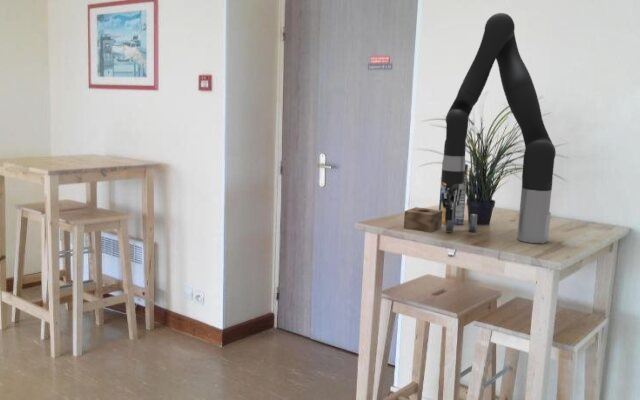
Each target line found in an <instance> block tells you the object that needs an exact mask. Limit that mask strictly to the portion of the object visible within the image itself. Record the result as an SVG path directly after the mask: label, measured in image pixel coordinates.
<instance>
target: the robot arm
mask: <svg viewBox="0 0 640 400" xmlns="http://www.w3.org/2000/svg"><path fill="white" fill-rule="evenodd" d="M515 30H516V29H515V22H514V20H513V18H512V16H511V15H509V14H508V13H504V12H500V13H498V12H497V13H495V14H492V15H491V16H490V17H489V18H488V19H487V21H486V22H485V26H484V31H483V35H482V38H481V42H480V45H479V46H478V47H479V48H478V50H477V52H476V54H475V56H474V59H473V61H472V63H471V65H470V67H469V68H468V71H467V73H466V74H465V77H464V79H463V81H462V83H461V85H460V87H459V89H458V91H457V95H456V97H455V99H454V101H453V103H452V104H451V106H450V107H449V110H448V111H447V114H446V116H445V123H446V124H445V125H446V127H445V128H446V129H445V134H446V135H445V141H444V146H443V147H444V148H443V158H442V161H443V163H441V164H442V165H441V175H442V179H441V178H440V182H441V181H442V182H443V183H446V188H445V191H444V193H443V192H442V202H443V208H445V209H446V214H445V219H446V220H452V214H453V203H455V208H454V219H455V212H456V208H457V206H458V205H459V201H460V197H461V192H462V189H459V184H463V183H464V176H465V164H466V149H467V142H466V140H467V135H468V129H469V116H470V115H471V113H472V110H473V107H474V106H475V105H476V104H477V102H478V101H479V98H480V97H481V95H482V92H483V90H484V88H485V87H486V84H487V82H488V78H489V76H490V73H491V71H492V69H493V66H494V64H495V61H496V63H497V66H498V71H499V76H500V80H501V81H500V83H501V85H502V89H503V93H504V96H505V99H506V102H507V105H508V107H509V110H510V111H511V113H512V116H513V117H514V118H515V121H516V122H517V124H518V127H519V129H520V131H521V134H522V139H523V142H524V147H525V149H524V154H523V163H522V171H521V173H522V174H521V191H520V204H519V213H518V223H517V232H516V234H517V236H516V239H517V240H518V241H520V242H524V243H530V244H546V243H547V242H548V241H549V232H550V226H551V224H550V223H551V212H550V211H551V210H550V208H551V199H552V188H553V179H554V177H553V175H554V166H555V158H556V152H557V151H556V147H555V145H554V144H553V142H552V140H551V137H550V135H549V133H548V131H547V128H546V127H545V124H544V120H543V117H542V110H541V106H540V102H539V99H538V95H537V91H536V88H535V84H534V82H533V79H532V77H531V74H530V71H529V70H528V69H527V66H526V64H525V63H524V60H523V58H522V57H521V54H520V52H519V48H518V44H517V40H516V35H515ZM451 199H453V200H451Z"/></svg>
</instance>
